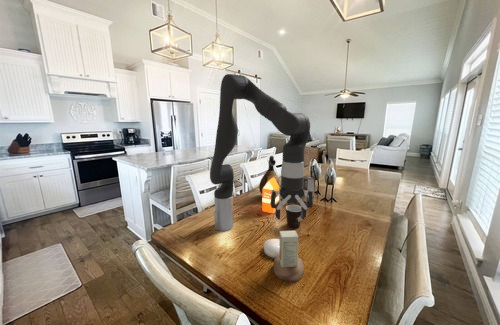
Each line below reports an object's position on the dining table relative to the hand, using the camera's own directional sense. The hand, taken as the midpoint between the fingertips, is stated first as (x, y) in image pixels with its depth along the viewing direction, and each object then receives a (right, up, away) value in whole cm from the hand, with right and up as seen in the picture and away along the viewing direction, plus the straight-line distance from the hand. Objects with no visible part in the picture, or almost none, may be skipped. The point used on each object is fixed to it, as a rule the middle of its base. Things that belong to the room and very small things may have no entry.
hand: (290, 218), depth 73 cm
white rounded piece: (-3, -18, +16) cm, 24 cm away
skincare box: (0, -18, +4) cm, 18 cm away
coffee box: (+25, -7, +72) cm, 76 cm away
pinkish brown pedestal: (0, -21, +4) cm, 21 cm away
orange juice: (-1, -10, +56) cm, 57 cm away
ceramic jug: (0, -6, +77) cm, 77 cm away
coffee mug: (+10, -14, +37) cm, 41 cm away
